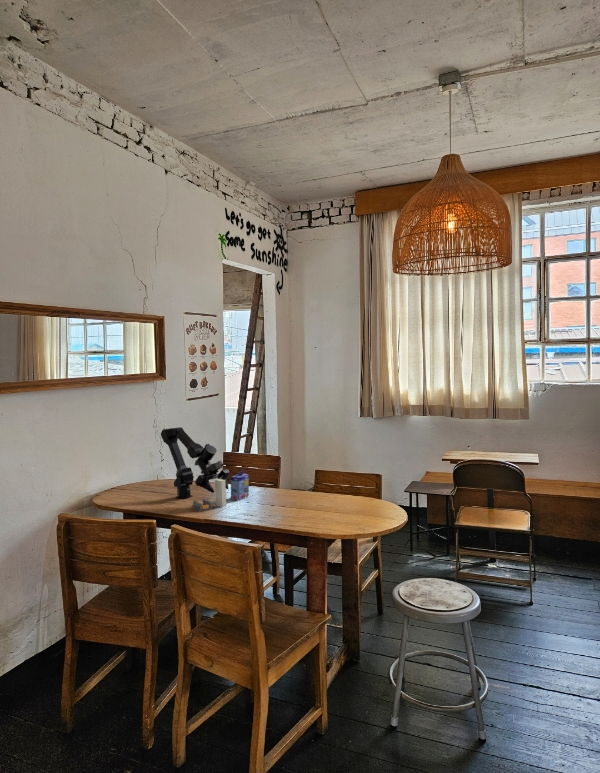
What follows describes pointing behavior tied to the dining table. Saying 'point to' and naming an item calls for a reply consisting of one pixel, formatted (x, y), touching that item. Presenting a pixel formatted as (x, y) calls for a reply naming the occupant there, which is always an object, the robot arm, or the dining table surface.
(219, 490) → the panel
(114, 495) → the dining table surface
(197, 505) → the rack
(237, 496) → the ink cartridge box
